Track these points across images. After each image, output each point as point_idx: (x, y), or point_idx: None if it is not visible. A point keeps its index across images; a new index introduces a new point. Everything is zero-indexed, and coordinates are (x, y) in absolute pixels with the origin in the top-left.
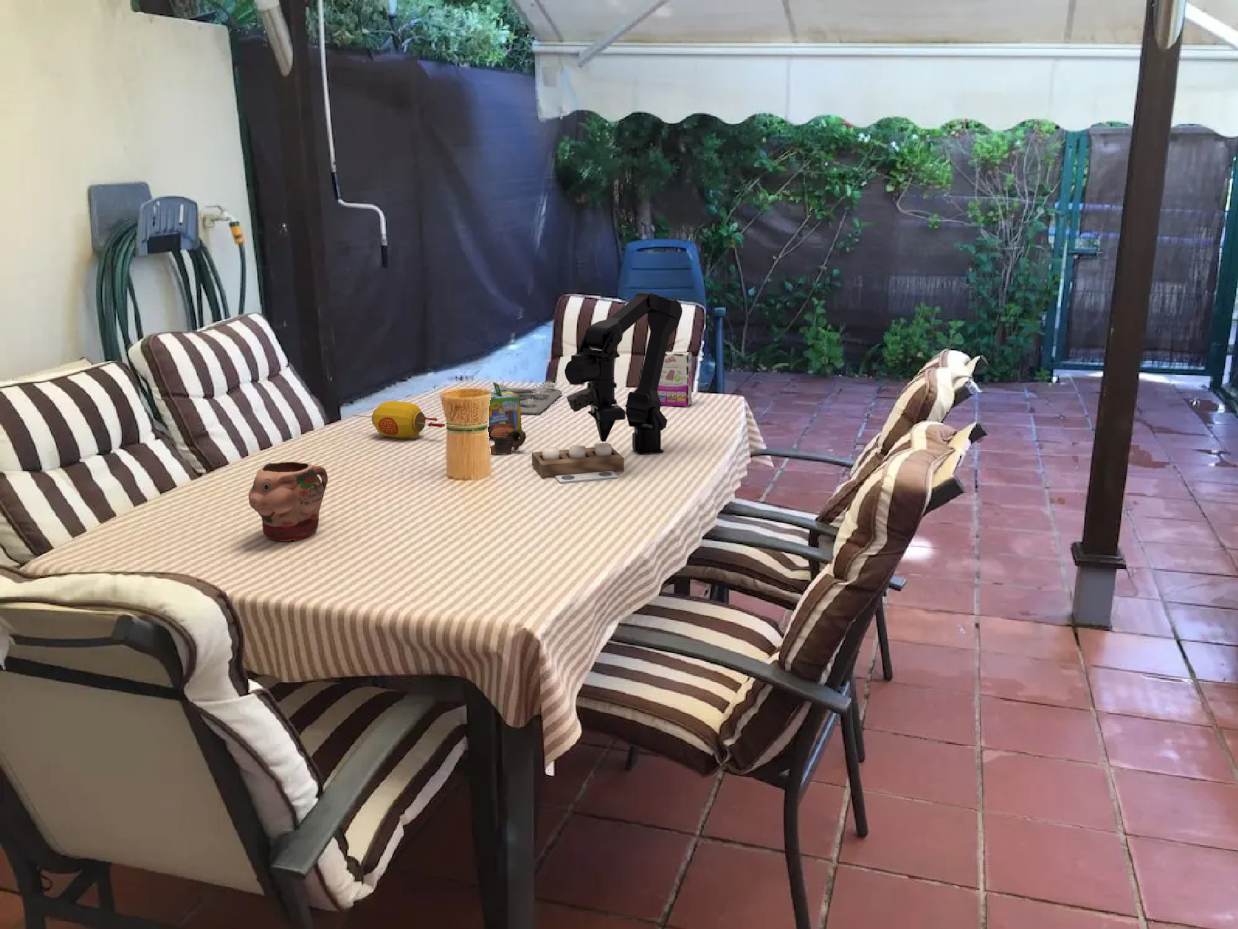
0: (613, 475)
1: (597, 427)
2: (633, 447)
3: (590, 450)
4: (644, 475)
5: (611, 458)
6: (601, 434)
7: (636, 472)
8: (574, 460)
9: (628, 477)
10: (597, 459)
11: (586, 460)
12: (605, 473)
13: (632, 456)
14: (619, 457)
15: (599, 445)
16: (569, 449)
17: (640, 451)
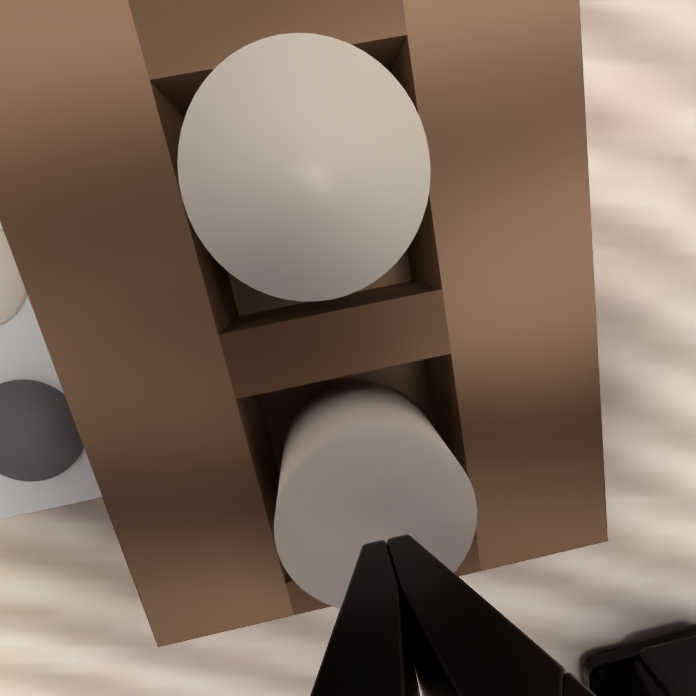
0: (3, 491)
1: (537, 686)
2: (688, 649)
3: (483, 352)
4: (73, 677)
5: (144, 543)
6: (335, 646)
7: (152, 632)
8: (58, 139)
9: (15, 582)
10: (102, 410)
11: (60, 288)
12: (35, 435)
13: (558, 613)
14: (179, 611)
15: (362, 484)
16: (258, 49)
17: (618, 674)
